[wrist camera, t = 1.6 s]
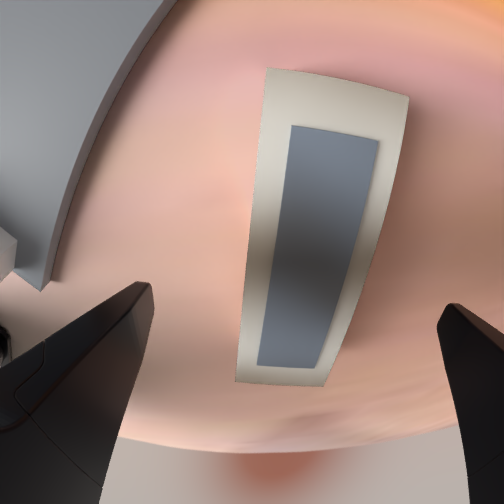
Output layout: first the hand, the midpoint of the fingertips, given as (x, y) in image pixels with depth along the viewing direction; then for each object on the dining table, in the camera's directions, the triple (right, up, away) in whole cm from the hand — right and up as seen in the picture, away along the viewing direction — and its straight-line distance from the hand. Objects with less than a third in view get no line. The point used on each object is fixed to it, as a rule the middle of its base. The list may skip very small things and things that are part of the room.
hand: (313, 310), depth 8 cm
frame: (0, +2, +4) cm, 5 cm away
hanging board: (-11, +9, 0) cm, 15 cm away
